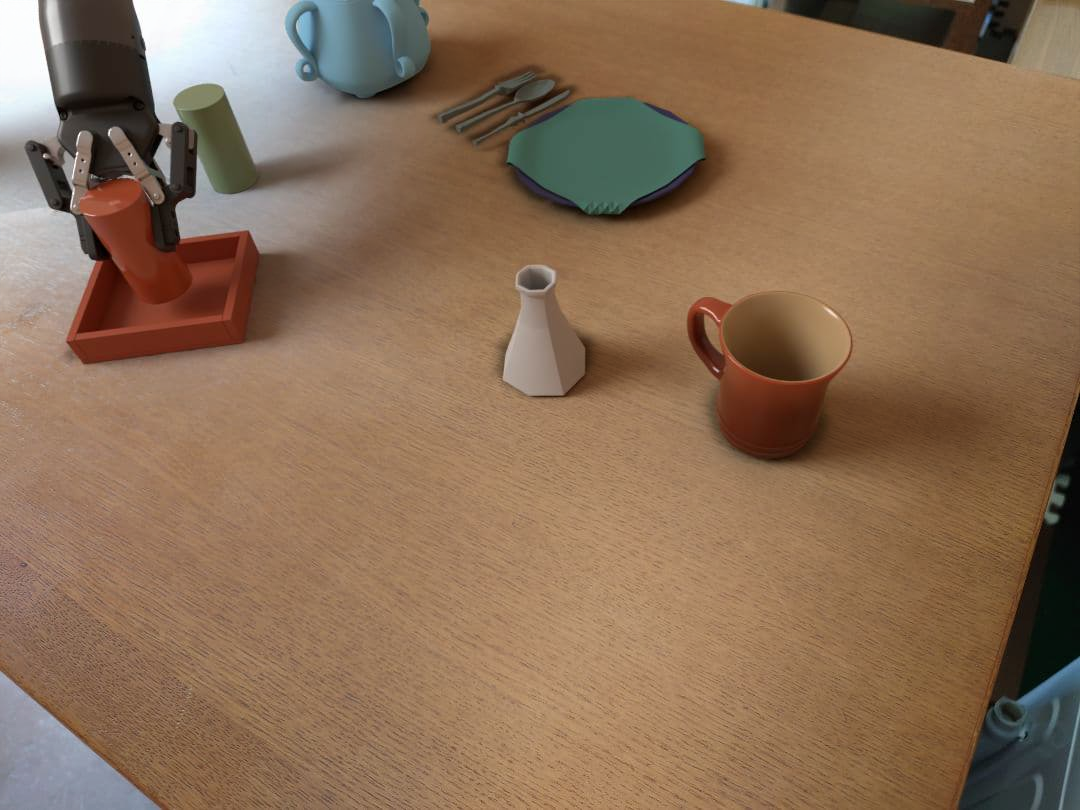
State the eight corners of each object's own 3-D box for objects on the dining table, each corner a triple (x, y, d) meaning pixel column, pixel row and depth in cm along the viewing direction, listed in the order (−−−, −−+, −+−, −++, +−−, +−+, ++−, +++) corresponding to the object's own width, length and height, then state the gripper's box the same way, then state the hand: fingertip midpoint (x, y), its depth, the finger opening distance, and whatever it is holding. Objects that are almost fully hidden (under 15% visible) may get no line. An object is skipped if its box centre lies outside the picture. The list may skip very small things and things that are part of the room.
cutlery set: (602, 249, 75) (602, 230, 73) (423, 132, 90) (419, 114, 88) (738, 161, 82) (740, 142, 80) (551, 66, 98) (550, 48, 96)
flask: (521, 328, 69) (510, 239, 61) (598, 346, 67) (597, 256, 59) (489, 387, 65) (472, 299, 57) (570, 408, 63) (564, 320, 55)
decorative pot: (290, 106, 96) (250, -7, 86) (333, 42, 106) (302, -67, 95) (416, 110, 94) (391, -7, 83) (448, 44, 103) (429, -68, 93)
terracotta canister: (131, 308, 71) (70, 219, 63) (143, 270, 74) (87, 181, 66) (187, 300, 71) (134, 211, 63) (197, 263, 74) (147, 173, 66)
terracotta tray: (82, 364, 70) (64, 341, 68) (115, 272, 78) (100, 249, 76) (243, 342, 70) (231, 319, 68) (259, 253, 78) (249, 229, 76)
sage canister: (208, 196, 85) (168, 113, 78) (216, 169, 89) (177, 86, 81) (256, 190, 85) (220, 106, 78) (261, 163, 89) (227, 80, 81)
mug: (843, 422, 60) (878, 329, 52) (778, 494, 56) (805, 405, 49) (716, 348, 66) (730, 254, 58) (650, 408, 62) (655, 317, 54)
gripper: (-20, 48, 62) (23, 263, 63) (160, 25, 62) (198, 240, 63) (38, 78, 69) (76, 270, 71) (199, 57, 69) (232, 249, 71)
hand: (133, 254), depth 67 cm, fingers closed on terracotta canister, 5 cm apart
